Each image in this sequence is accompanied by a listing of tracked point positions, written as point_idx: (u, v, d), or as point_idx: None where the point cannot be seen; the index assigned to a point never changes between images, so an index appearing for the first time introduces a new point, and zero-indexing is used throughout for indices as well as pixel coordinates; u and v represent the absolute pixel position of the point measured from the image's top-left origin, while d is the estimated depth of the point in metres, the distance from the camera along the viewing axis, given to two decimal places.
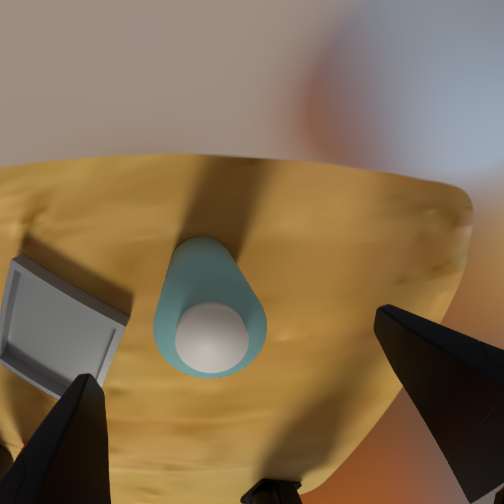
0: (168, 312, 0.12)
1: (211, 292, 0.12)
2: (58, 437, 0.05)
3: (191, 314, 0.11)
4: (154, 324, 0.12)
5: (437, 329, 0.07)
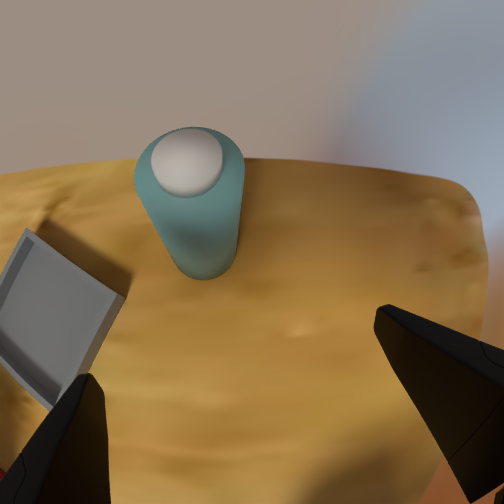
0: (153, 152, 0.13)
1: None
2: (58, 437, 0.05)
3: (171, 133, 0.12)
4: (138, 163, 0.13)
5: (437, 329, 0.07)
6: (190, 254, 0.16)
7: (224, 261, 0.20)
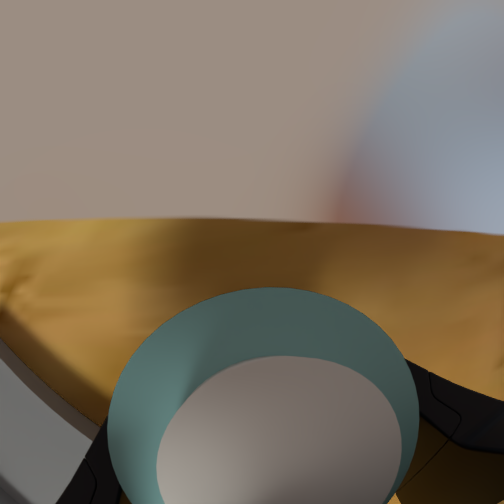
0: (150, 389, 0.04)
1: (277, 332, 0.04)
2: None
3: (214, 378, 0.03)
4: (111, 420, 0.04)
5: None
6: None
7: None
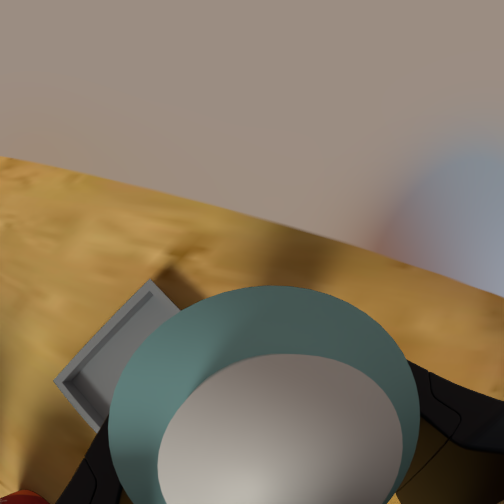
0: (151, 388, 0.04)
1: (278, 330, 0.04)
2: None
3: (216, 376, 0.03)
4: (112, 419, 0.04)
5: None
6: None
7: None
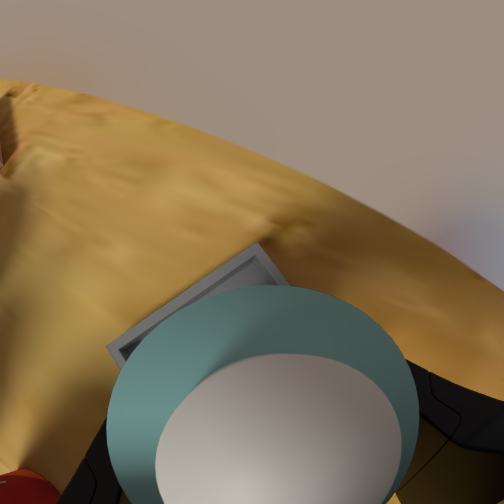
0: (149, 387, 0.04)
1: (277, 330, 0.04)
2: None
3: (213, 376, 0.03)
4: (110, 418, 0.04)
5: None
6: None
7: None
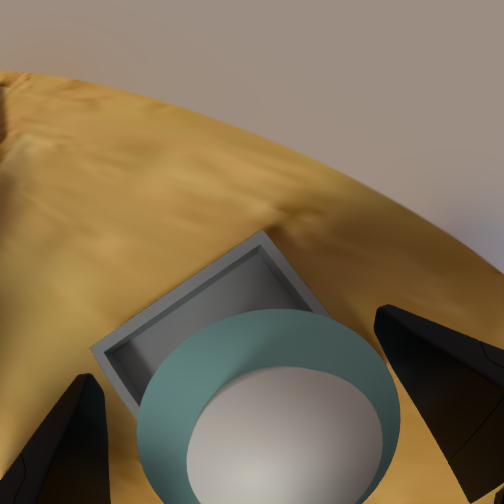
0: (174, 395, 0.05)
1: (281, 346, 0.05)
2: (58, 437, 0.05)
3: (234, 386, 0.04)
4: (139, 422, 0.04)
5: (437, 329, 0.07)
6: None
7: None
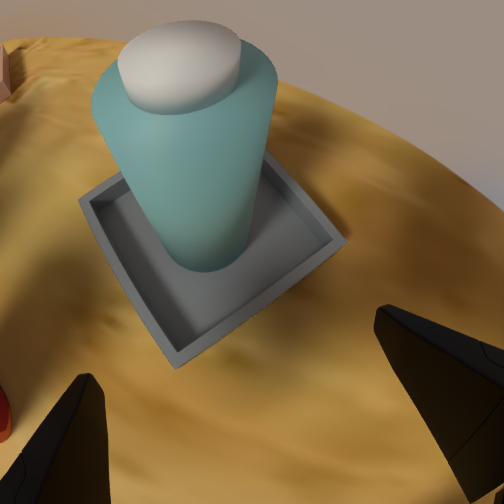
0: None
1: None
2: (58, 437, 0.05)
3: None
4: (102, 77, 0.07)
5: (437, 329, 0.07)
6: (182, 229, 0.10)
7: (234, 244, 0.14)
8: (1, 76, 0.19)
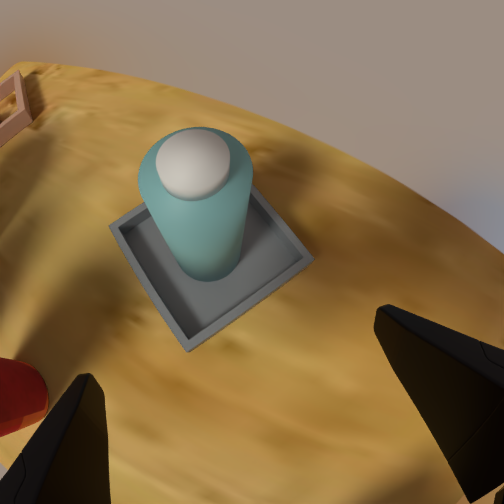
0: (157, 154, 0.12)
1: None
2: (58, 437, 0.05)
3: (176, 133, 0.12)
4: (141, 165, 0.12)
5: (437, 329, 0.07)
6: (195, 257, 0.16)
7: (229, 263, 0.20)
8: (22, 104, 0.25)
